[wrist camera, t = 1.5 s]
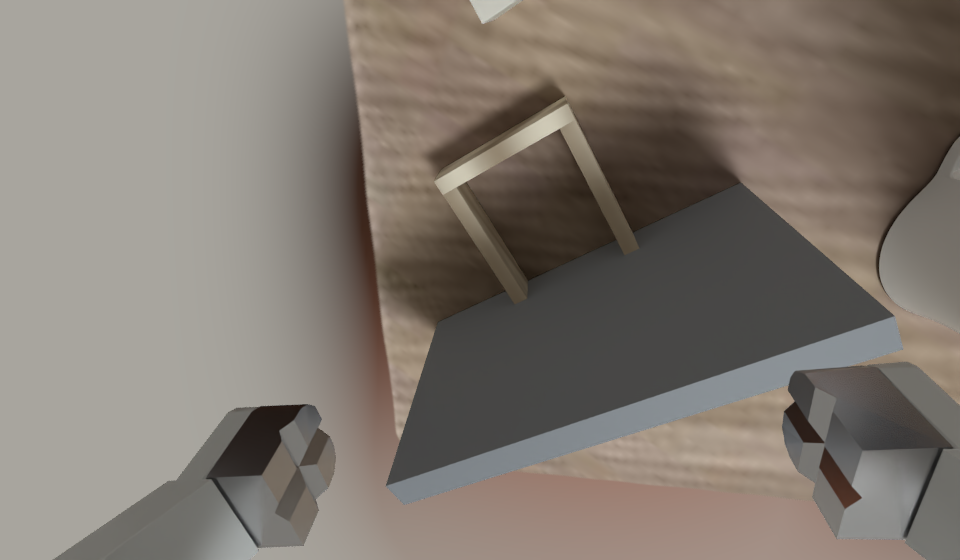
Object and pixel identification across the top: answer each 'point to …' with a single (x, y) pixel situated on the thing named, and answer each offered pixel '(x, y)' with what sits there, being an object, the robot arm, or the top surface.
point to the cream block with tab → (492, 8)
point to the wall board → (632, 343)
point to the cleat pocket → (504, 147)
